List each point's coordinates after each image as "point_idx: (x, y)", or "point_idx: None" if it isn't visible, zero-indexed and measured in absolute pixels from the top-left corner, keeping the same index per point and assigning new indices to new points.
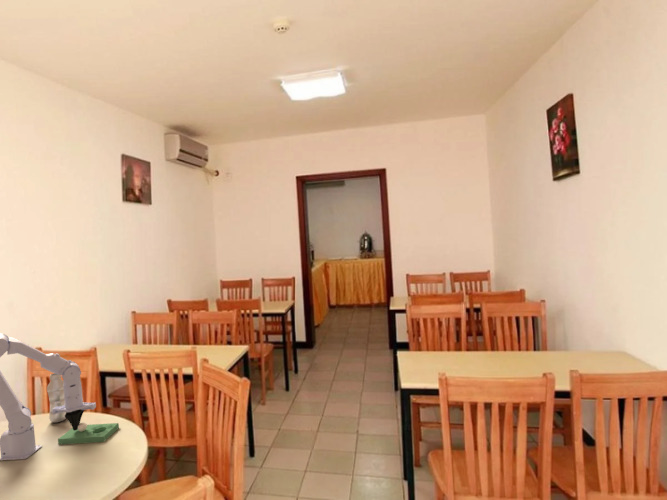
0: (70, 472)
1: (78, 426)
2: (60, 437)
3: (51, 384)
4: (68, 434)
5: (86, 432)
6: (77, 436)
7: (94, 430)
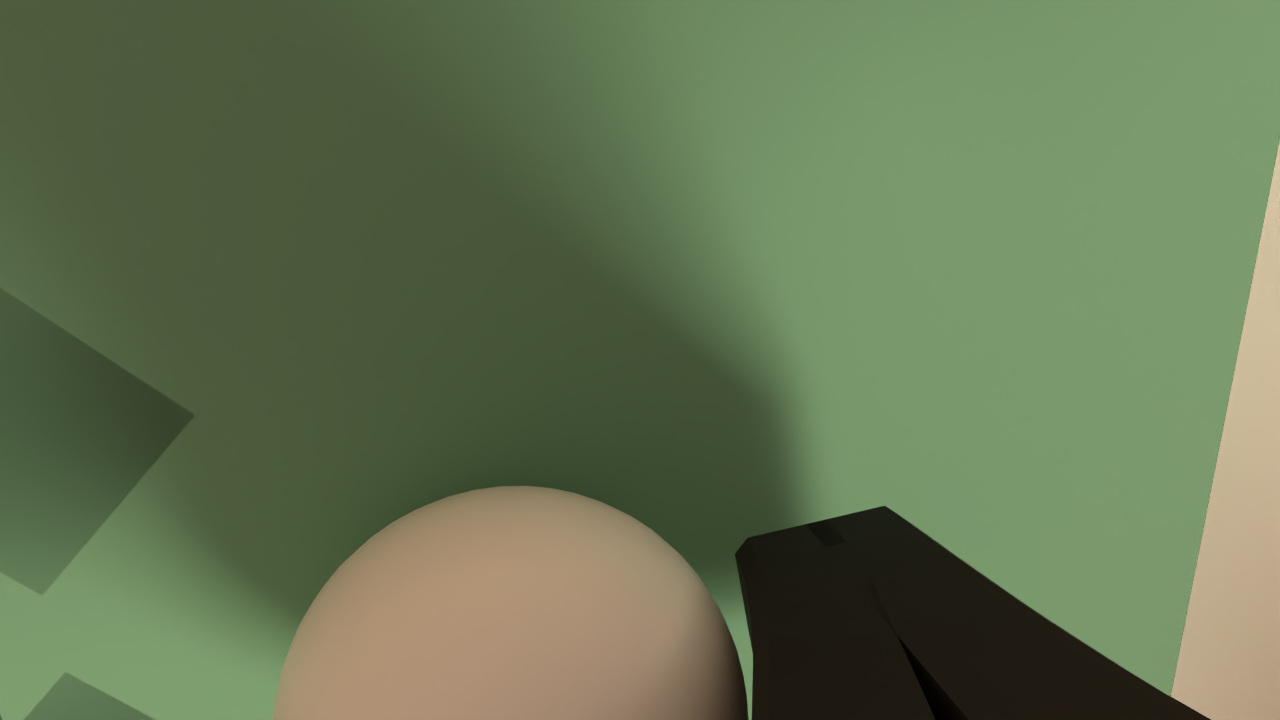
0: None
1: (631, 664)
2: (1271, 54)
3: None
4: (1022, 316)
5: (203, 482)
6: (393, 121)
7: (9, 677)
